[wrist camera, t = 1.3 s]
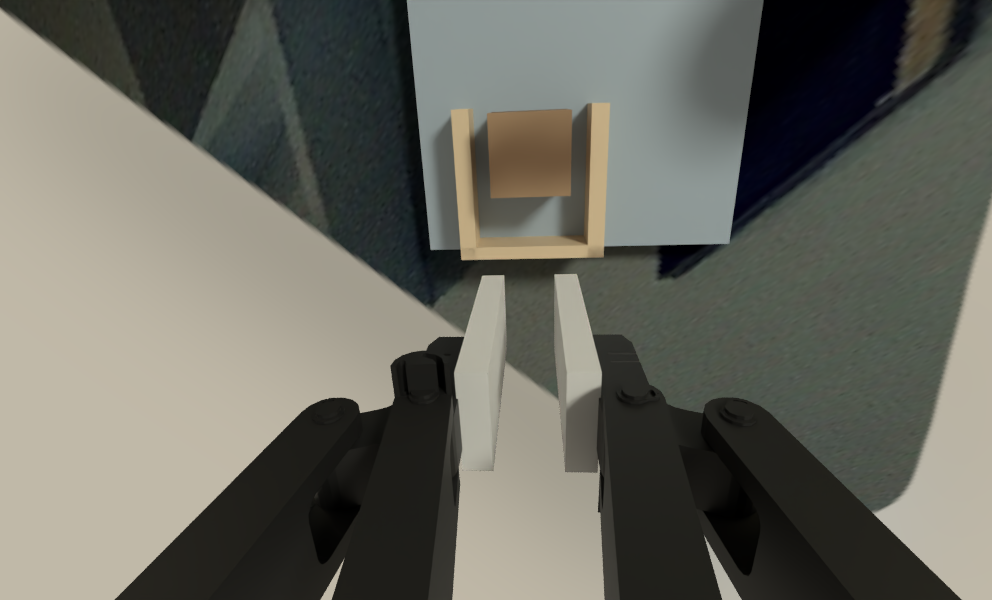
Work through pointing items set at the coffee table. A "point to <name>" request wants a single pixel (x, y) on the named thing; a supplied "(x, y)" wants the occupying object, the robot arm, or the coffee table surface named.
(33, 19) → the coffee table surface
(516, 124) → the walnut cube
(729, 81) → the board
